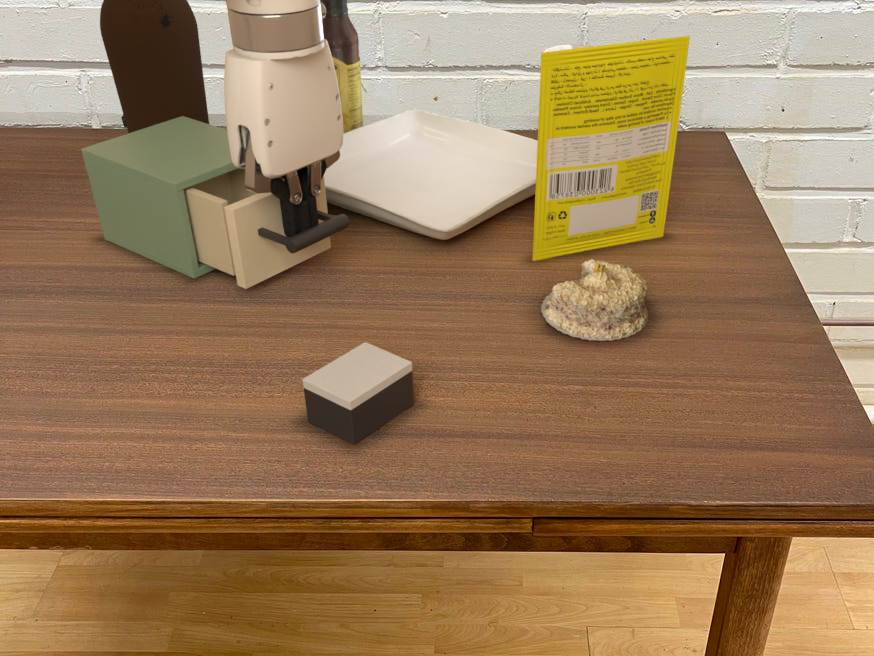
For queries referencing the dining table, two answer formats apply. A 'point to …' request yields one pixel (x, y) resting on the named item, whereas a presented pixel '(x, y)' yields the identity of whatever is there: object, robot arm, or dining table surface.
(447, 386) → the dining table surface
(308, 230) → the drawer
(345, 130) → the sauce bottle
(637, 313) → the cake
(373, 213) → the square plate
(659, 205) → the food package
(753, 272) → the dining table surface
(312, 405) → the box
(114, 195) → the cabinet
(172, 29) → the rounded brown slab
